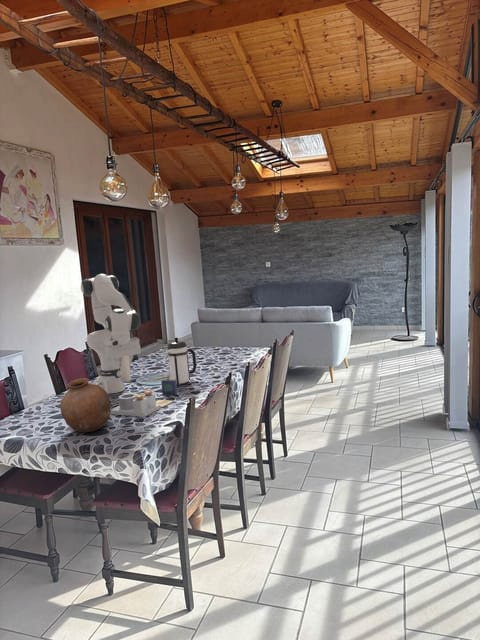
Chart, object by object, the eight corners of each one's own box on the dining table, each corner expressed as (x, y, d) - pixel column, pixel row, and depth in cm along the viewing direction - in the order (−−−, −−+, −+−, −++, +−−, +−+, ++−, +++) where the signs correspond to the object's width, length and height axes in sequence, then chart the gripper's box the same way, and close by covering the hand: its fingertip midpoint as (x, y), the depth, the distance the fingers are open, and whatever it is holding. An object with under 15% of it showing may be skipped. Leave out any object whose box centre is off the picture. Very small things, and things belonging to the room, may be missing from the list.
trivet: (147, 406, 259) (147, 405, 259) (158, 400, 268) (158, 399, 268) (162, 407, 255) (162, 406, 255) (173, 401, 264) (172, 400, 264)
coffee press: (189, 387, 292) (185, 339, 288) (165, 387, 296) (160, 340, 291) (197, 379, 309) (193, 334, 305) (174, 379, 312) (170, 335, 308)
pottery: (117, 419, 242) (112, 371, 238) (106, 436, 219) (100, 384, 215) (72, 423, 241) (66, 375, 238) (56, 440, 218) (49, 388, 215)
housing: (110, 413, 252) (108, 399, 251) (127, 405, 264) (125, 391, 263) (144, 417, 242) (143, 401, 241) (160, 408, 255) (158, 393, 254)
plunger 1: (134, 409, 246) (133, 396, 245) (139, 406, 249) (138, 394, 249) (141, 410, 244) (140, 397, 243) (146, 407, 248) (145, 394, 247)
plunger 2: (143, 405, 252) (142, 392, 251) (148, 402, 256) (147, 390, 255) (150, 405, 250) (148, 393, 250) (155, 403, 254) (153, 390, 253)
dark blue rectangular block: (178, 393, 279) (176, 376, 278) (176, 395, 277) (174, 377, 275) (163, 393, 282) (161, 376, 280) (161, 395, 279) (159, 377, 277)
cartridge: (122, 382, 249) (121, 354, 247) (119, 380, 253) (118, 352, 251) (131, 381, 251) (130, 353, 250) (129, 379, 256) (127, 351, 254)
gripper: (135, 335, 259) (138, 360, 261) (101, 342, 245) (104, 368, 247) (142, 336, 255) (144, 361, 257) (107, 343, 240) (110, 370, 242)
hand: (124, 365), depth 252 cm, fingers closed on cartridge, 5 cm apart
